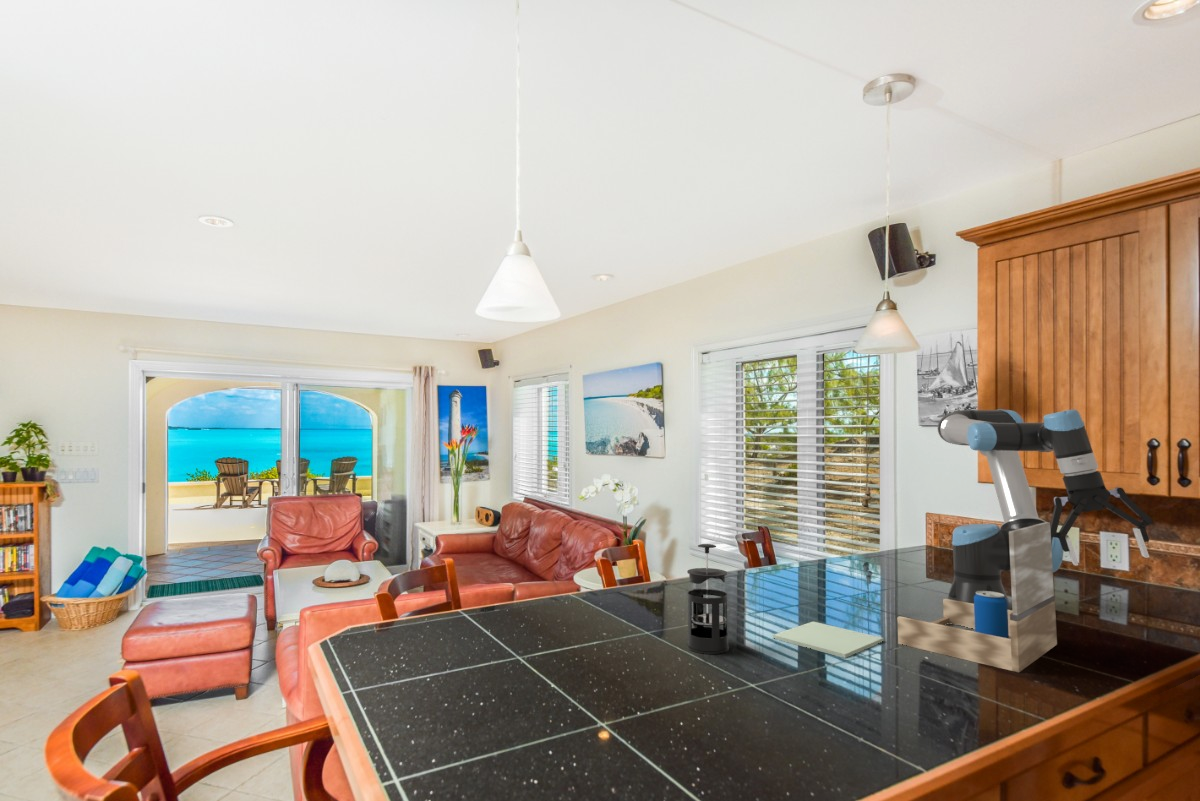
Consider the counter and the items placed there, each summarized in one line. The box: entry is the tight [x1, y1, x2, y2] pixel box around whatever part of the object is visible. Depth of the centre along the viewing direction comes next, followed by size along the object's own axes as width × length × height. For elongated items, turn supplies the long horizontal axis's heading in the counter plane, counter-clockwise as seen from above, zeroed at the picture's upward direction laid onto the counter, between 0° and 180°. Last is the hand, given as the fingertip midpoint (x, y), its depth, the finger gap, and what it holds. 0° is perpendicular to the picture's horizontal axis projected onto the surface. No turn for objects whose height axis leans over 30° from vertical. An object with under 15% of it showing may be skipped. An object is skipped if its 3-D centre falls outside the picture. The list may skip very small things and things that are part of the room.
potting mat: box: [772, 621, 884, 659], centre depth 145 cm, size 18×18×1 cm
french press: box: [686, 543, 730, 655], centre depth 141 cm, size 12×9×23 cm
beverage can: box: [974, 591, 1010, 639], centre depth 141 cm, size 6×6×12 cm
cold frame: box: [896, 521, 1058, 673], centre depth 144 cm, size 24×28×28 cm
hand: (1110, 560), depth 146 cm, fingers open, 13 cm apart
